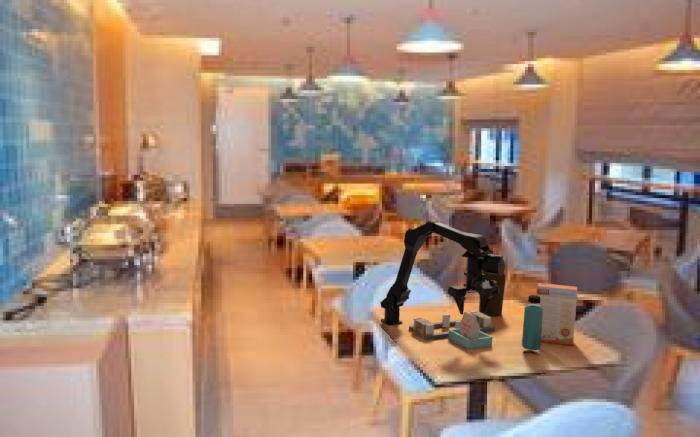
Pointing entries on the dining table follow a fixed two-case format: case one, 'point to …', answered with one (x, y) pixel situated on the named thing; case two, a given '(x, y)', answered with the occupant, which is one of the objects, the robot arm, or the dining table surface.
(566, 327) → the cracker box
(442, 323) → the clip holder
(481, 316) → the walnut block
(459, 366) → the dining table surface
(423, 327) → the walnut block
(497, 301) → the olive oil
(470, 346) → the teal tray
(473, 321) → the tea bag
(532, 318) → the beverage bottle
